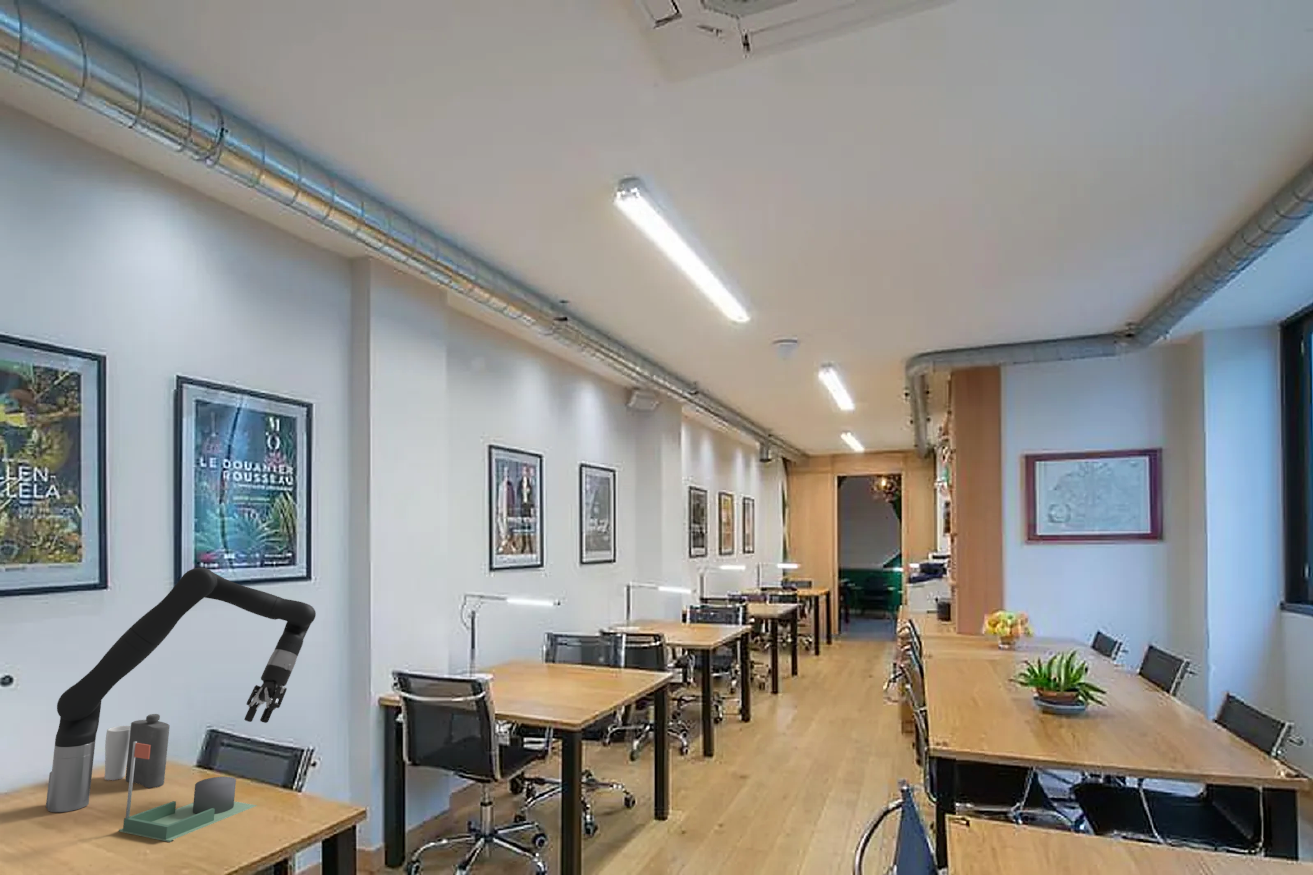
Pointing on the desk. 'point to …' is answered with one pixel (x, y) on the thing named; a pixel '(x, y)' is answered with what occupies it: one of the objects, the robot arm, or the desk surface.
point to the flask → (157, 737)
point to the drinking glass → (116, 752)
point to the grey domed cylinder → (214, 794)
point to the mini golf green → (169, 812)
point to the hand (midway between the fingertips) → (255, 721)
